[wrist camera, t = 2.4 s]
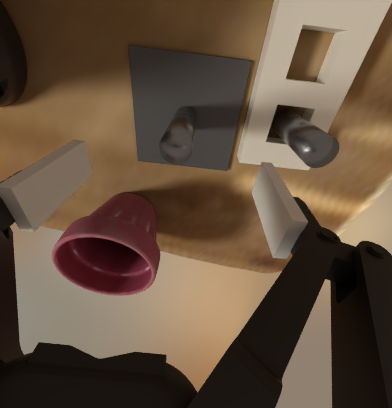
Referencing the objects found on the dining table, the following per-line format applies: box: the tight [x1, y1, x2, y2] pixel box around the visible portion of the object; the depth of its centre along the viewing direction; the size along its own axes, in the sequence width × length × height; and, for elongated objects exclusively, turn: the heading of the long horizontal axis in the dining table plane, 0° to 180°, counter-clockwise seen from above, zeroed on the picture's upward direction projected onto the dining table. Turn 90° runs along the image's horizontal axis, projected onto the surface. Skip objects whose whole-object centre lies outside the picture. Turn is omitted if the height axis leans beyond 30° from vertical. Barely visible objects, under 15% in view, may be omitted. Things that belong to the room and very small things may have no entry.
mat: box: [129, 46, 251, 171], centre depth 27 cm, size 14×14×1 cm
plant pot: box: [52, 193, 160, 296], centre depth 32 cm, size 14×14×13 cm
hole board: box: [237, 0, 392, 170], centre depth 23 cm, size 10×18×2 cm, turn 174°
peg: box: [159, 106, 197, 164], centre depth 22 cm, size 3×3×11 cm
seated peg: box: [271, 109, 339, 168], centre depth 22 cm, size 3×3×11 cm
